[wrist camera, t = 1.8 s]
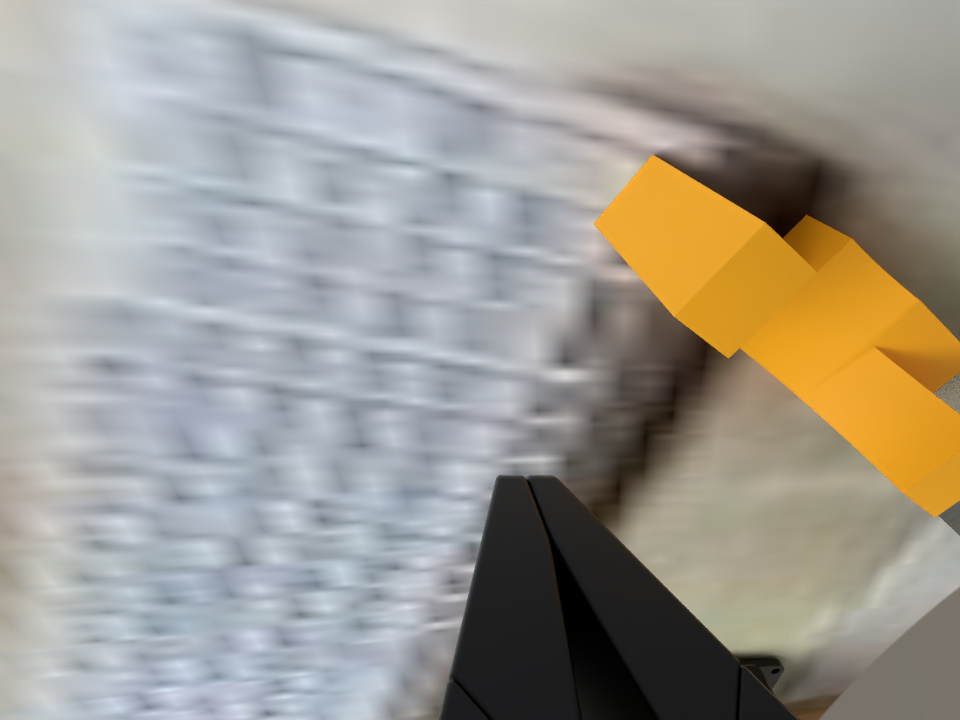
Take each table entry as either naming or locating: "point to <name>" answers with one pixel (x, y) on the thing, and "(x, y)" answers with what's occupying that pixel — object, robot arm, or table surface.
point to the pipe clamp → (802, 320)
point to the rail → (952, 517)
